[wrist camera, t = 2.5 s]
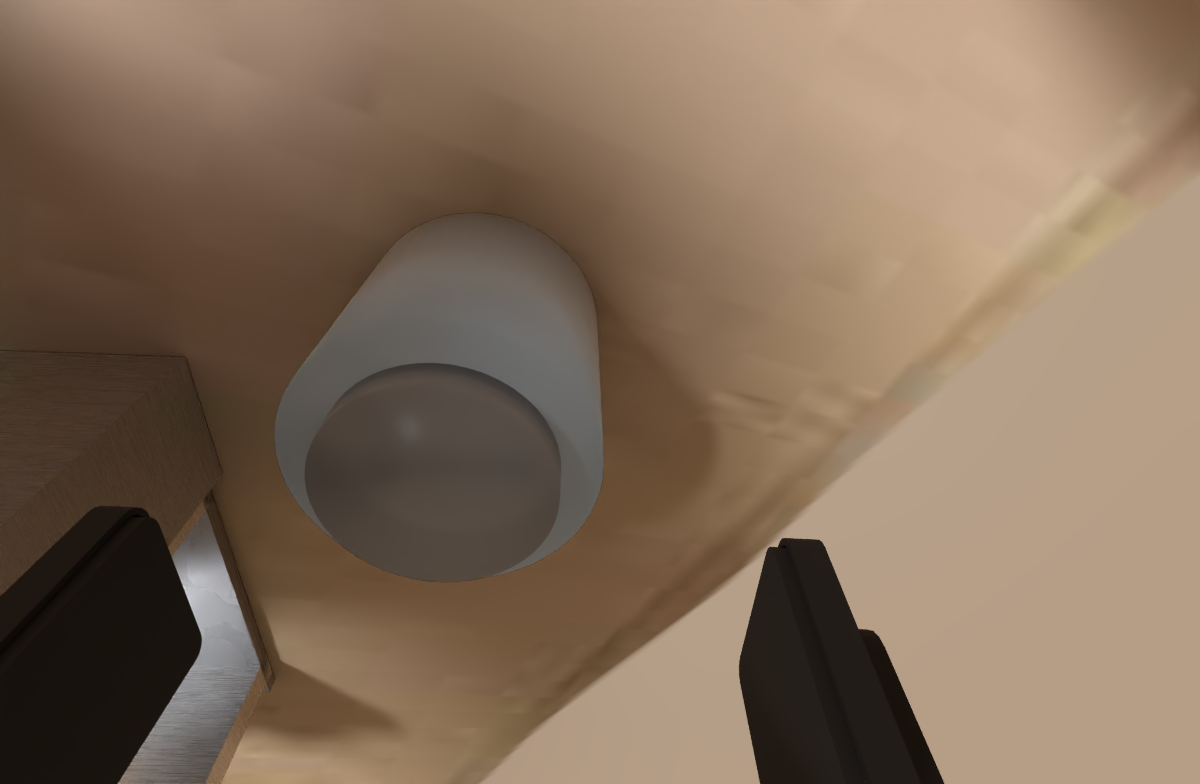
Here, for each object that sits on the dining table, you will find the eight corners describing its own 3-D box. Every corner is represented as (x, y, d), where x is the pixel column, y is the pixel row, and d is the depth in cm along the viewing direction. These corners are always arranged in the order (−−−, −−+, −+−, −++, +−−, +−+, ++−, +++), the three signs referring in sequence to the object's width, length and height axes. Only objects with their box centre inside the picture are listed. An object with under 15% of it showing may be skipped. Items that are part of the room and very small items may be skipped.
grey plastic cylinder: (352, 206, 15) (215, 334, 10) (603, 218, 16) (616, 349, 10) (382, 416, 19) (292, 607, 13) (591, 422, 19) (596, 612, 13)
